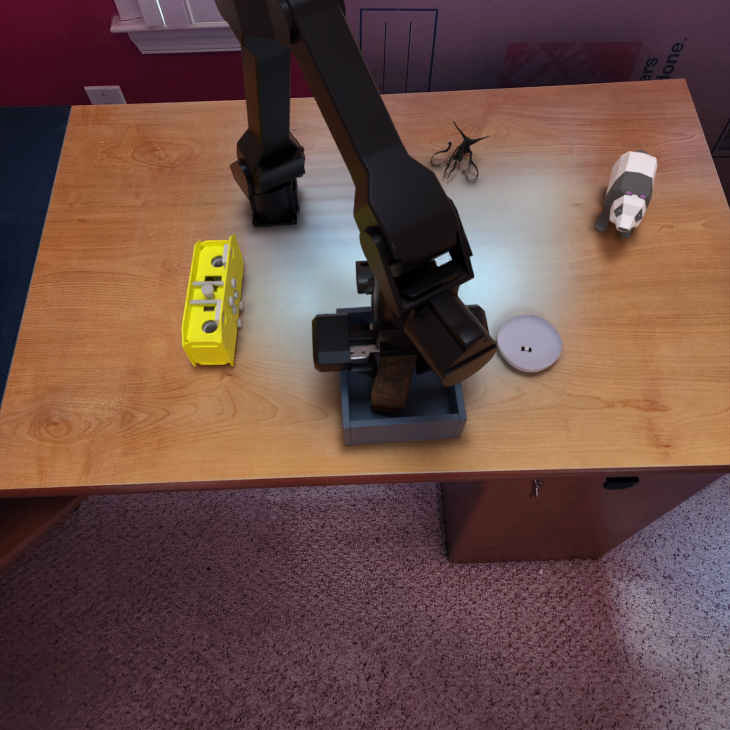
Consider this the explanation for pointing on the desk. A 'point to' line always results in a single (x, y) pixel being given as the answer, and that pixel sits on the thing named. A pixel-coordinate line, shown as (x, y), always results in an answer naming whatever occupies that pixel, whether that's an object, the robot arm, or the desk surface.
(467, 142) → the creature
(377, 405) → the brick
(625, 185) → the giant panda
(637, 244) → the desk surface
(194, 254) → the yellow toy chassis
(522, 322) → the pale lavender disc
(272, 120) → the robot arm
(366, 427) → the bin
